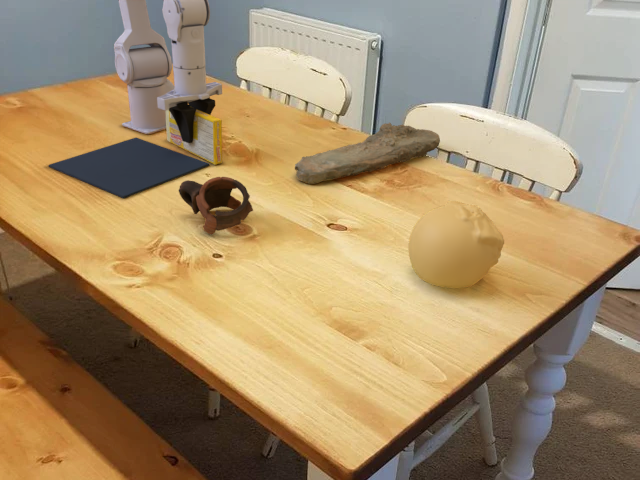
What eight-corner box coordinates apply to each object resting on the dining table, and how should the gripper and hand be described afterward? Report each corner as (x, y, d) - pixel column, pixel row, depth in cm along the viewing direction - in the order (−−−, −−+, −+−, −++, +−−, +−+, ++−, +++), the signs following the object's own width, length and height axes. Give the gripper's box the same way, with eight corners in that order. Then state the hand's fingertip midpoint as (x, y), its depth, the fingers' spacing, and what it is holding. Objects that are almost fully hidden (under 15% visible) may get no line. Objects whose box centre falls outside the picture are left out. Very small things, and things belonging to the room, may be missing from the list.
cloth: (136, 139, 136) (136, 137, 136) (209, 165, 126) (209, 163, 126) (48, 167, 122) (48, 164, 122) (123, 198, 113) (123, 196, 113)
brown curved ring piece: (258, 213, 112) (263, 182, 104) (236, 259, 107) (240, 230, 100) (188, 186, 112) (188, 154, 104) (164, 231, 107) (162, 200, 100)
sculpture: (506, 293, 94) (522, 221, 88) (425, 303, 90) (436, 229, 84) (467, 253, 103) (480, 185, 97) (393, 261, 100) (401, 191, 93)
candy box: (224, 163, 128) (222, 119, 123) (214, 165, 126) (212, 121, 122) (175, 138, 137) (172, 97, 133) (166, 141, 136) (162, 98, 131)
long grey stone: (281, 179, 126) (315, 200, 120) (281, 152, 123) (316, 173, 117) (415, 135, 144) (450, 151, 138) (418, 110, 141) (454, 126, 135)
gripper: (174, 77, 116) (180, 154, 124) (233, 62, 126) (235, 135, 133) (146, 69, 119) (153, 145, 127) (205, 55, 129) (208, 126, 137)
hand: (193, 139), depth 130 cm, fingers closed on candy box, 3 cm apart
